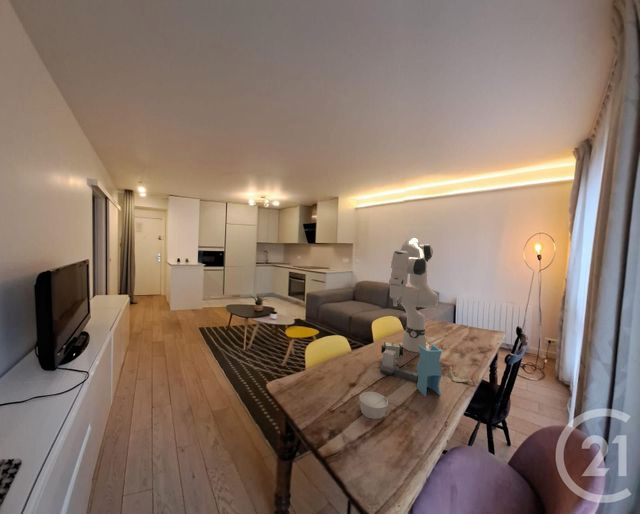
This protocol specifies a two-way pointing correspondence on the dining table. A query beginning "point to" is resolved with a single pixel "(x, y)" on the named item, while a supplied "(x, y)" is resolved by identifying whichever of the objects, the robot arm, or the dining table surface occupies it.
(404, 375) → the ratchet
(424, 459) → the dining table surface
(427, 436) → the dining table surface
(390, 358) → the beige rectangular block
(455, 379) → the jawbone
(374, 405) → the ramekin
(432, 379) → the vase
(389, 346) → the pneumatic valve
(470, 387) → the dining table surface
